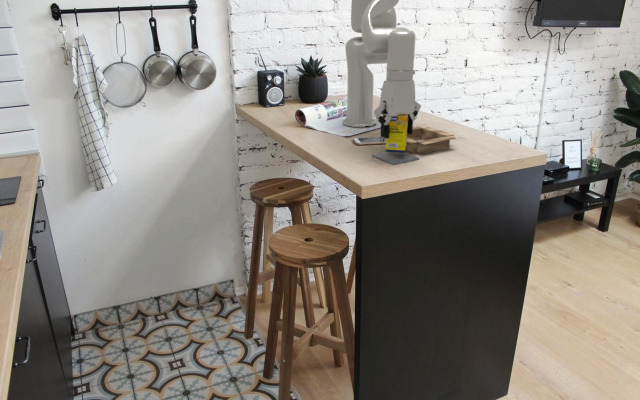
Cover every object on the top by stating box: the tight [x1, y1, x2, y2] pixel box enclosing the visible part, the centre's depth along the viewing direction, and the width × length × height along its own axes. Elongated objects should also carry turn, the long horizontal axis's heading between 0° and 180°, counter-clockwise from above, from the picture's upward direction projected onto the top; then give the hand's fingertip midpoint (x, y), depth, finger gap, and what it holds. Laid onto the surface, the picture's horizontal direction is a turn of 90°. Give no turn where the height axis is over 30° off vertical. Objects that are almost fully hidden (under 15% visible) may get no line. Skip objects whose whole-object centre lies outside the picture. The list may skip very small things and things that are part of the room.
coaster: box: [371, 151, 420, 166], centre depth 157 cm, size 10×10×1 cm
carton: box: [405, 125, 457, 155], centre depth 168 cm, size 18×18×4 cm
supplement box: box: [384, 114, 408, 153], centre depth 154 cm, size 6×6×11 cm
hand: (396, 135), depth 155 cm, fingers closed on supplement box, 8 cm apart
